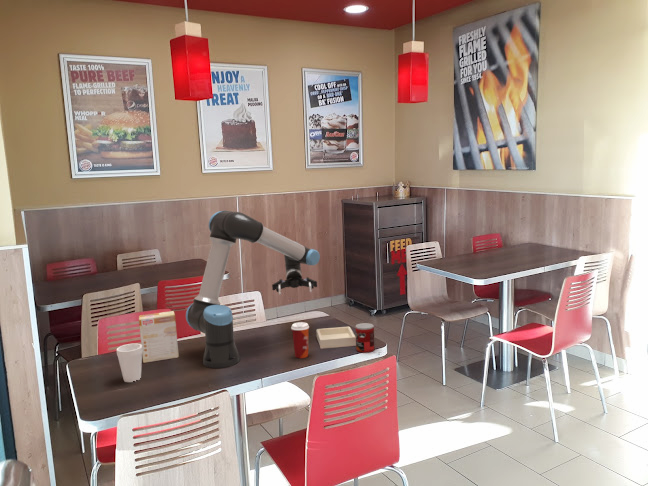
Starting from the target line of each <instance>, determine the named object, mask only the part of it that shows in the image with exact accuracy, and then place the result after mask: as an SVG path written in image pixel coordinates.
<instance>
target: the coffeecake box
mask: <svg viewBox="0 0 648 486" xmlns="http://www.w3.org/2000/svg"><path fill="white" fill-rule="evenodd" d="M176 322H177V320H176V314H175V311H174V310H172V311H171V310H170V311H163V312H156V313H149V314H140V315H139V316H138V323H139V335H140V344H141V345H142V350H143V351H142V363H150V362H156V361H157V362H158V361H164V360H169V359H170V360H171V359H177V358H179V357H180V356H179V346H178V345H179V344H178V332H177V323H176Z"/></svg>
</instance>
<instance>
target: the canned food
mask: <svg viewBox="0 0 648 486" xmlns="http://www.w3.org/2000/svg"><path fill="white" fill-rule="evenodd" d="M355 337H356V346H355V348H356V351H357V352H358V353H363V354H364V353H366V354H368V353H372V352H373V351H374V350H375V325H374V324H373V323H370V322H365V323H364V322H362V323H361V322H360V323H357V324H356V325H355Z"/></svg>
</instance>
